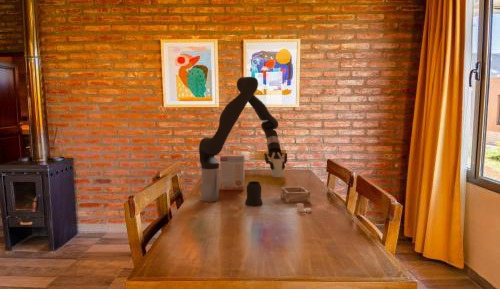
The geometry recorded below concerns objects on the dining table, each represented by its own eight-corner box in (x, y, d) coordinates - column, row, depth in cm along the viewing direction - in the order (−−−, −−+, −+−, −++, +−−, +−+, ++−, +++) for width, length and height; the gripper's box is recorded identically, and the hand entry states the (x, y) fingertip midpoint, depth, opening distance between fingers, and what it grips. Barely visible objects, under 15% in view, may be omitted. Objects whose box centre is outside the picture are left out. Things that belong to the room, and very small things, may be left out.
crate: (309, 202, 167) (310, 192, 167) (286, 203, 165) (286, 193, 165) (302, 196, 180) (302, 186, 179) (280, 196, 178) (280, 187, 177)
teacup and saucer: (312, 211, 154) (313, 203, 153) (305, 216, 147) (306, 207, 147) (296, 208, 159) (296, 200, 158) (288, 212, 152) (289, 204, 152)
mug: (261, 206, 160) (261, 184, 158) (243, 206, 161) (243, 184, 160) (264, 200, 171) (264, 179, 170) (247, 199, 173) (247, 178, 171)
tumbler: (280, 177, 178) (280, 159, 177) (270, 176, 180) (271, 159, 179) (283, 175, 184) (283, 158, 183) (273, 174, 186) (274, 157, 185)
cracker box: (244, 188, 196) (244, 154, 193) (243, 191, 190) (243, 156, 187) (222, 187, 197) (221, 154, 195) (220, 190, 191) (220, 155, 189)
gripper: (262, 141, 186) (266, 165, 176) (286, 141, 189) (291, 165, 178) (260, 149, 192) (264, 172, 181) (283, 149, 194) (288, 172, 184)
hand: (278, 168), depth 180 cm, fingers closed on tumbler, 5 cm apart
